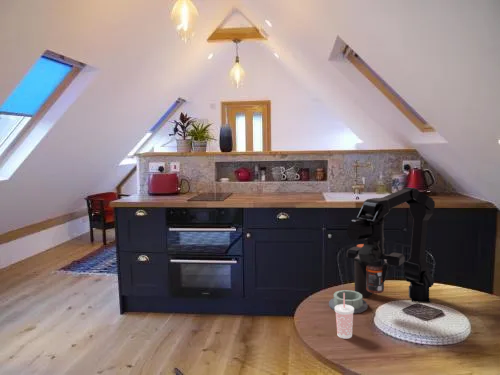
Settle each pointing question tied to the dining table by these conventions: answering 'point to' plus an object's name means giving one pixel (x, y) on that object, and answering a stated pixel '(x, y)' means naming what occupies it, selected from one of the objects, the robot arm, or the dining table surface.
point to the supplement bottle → (374, 277)
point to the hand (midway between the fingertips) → (374, 279)
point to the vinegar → (360, 279)
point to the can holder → (349, 300)
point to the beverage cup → (344, 319)
